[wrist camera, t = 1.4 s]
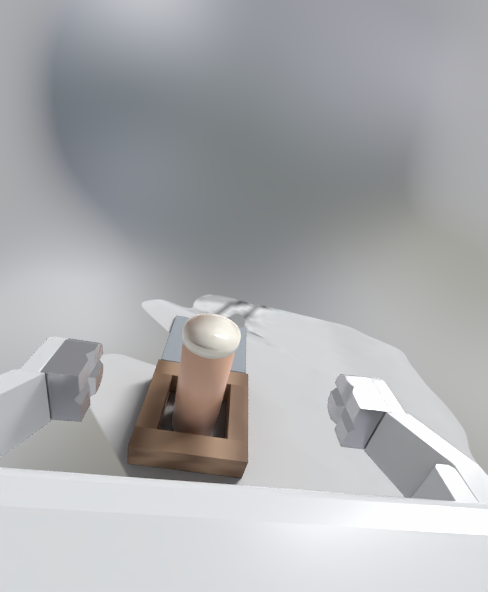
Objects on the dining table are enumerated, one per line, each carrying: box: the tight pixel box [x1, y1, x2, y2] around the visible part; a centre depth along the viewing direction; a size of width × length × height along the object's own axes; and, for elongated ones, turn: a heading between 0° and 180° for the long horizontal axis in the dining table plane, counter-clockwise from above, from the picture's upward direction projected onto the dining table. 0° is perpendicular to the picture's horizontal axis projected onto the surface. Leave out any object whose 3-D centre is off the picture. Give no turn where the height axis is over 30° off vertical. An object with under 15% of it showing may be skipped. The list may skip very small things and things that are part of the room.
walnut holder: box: [128, 360, 248, 478], centre depth 41 cm, size 14×14×4 cm
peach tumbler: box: [172, 314, 241, 436], centre depth 39 cm, size 9×6×16 cm
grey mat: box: [161, 316, 246, 374], centre depth 55 cm, size 14×12×1 cm
